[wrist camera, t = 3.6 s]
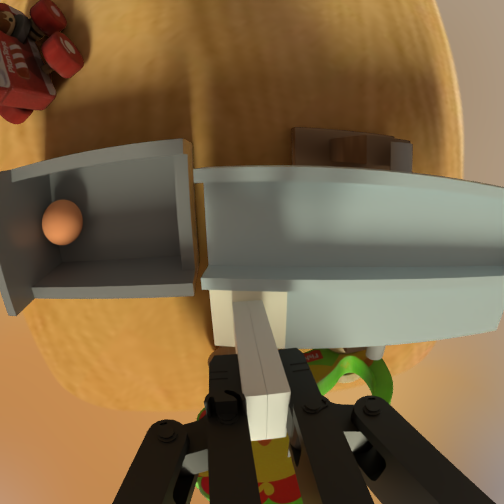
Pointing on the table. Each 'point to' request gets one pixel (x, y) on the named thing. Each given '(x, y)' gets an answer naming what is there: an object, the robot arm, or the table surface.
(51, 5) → the toy fire truck
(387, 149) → the stand
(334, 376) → the toy lion
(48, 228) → the ball
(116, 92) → the table surface
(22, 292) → the pulled-out tray drawer
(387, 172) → the lever
